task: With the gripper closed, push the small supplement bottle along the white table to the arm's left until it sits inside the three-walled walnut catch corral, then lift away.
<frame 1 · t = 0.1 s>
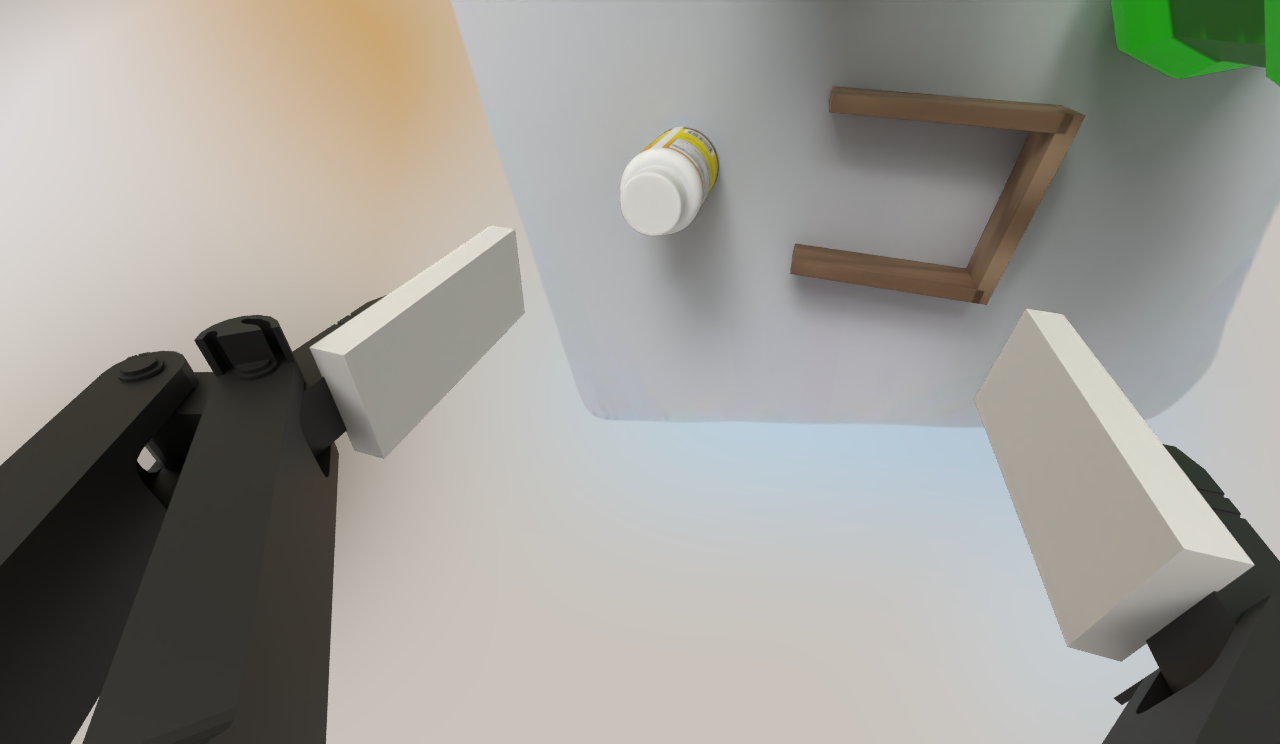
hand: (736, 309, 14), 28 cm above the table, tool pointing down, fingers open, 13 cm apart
catch corral: (904, 190, 36), on the table
supplement bottle: (685, 163, 39), on the table
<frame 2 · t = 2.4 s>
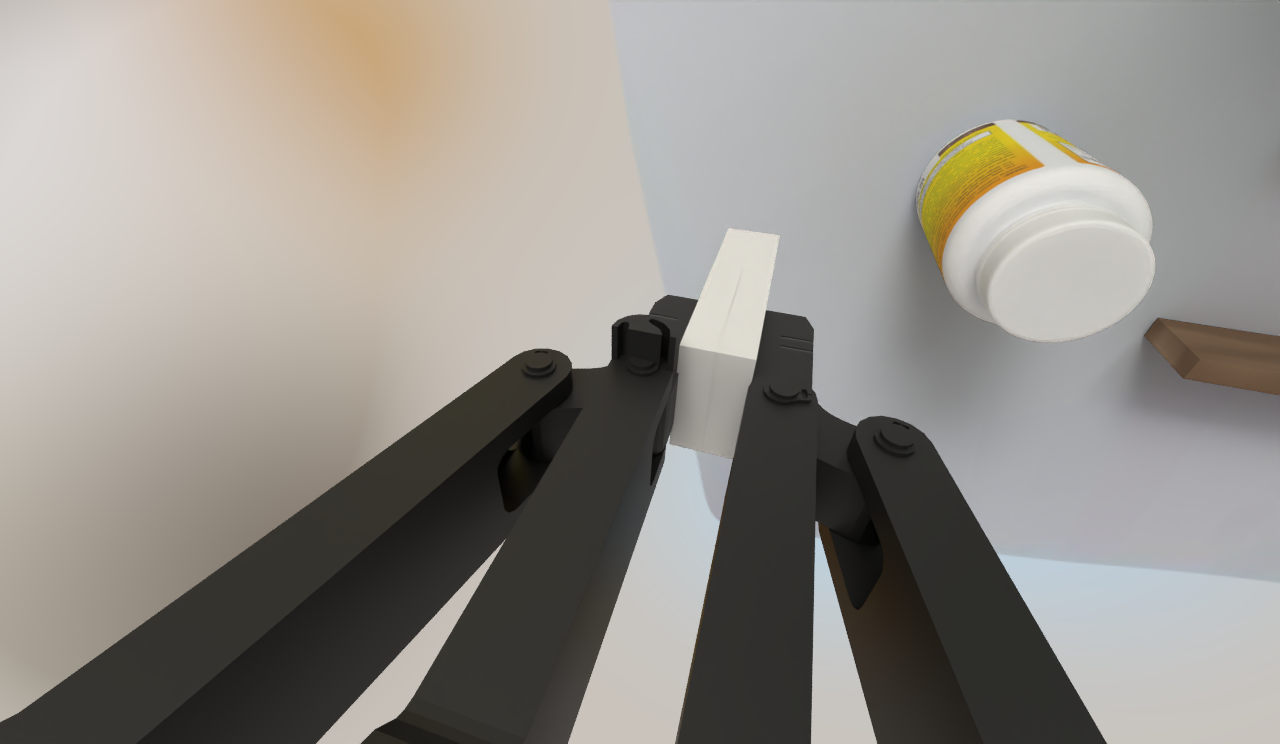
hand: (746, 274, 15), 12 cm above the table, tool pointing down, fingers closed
supplement bottle: (983, 183, 23), on the table
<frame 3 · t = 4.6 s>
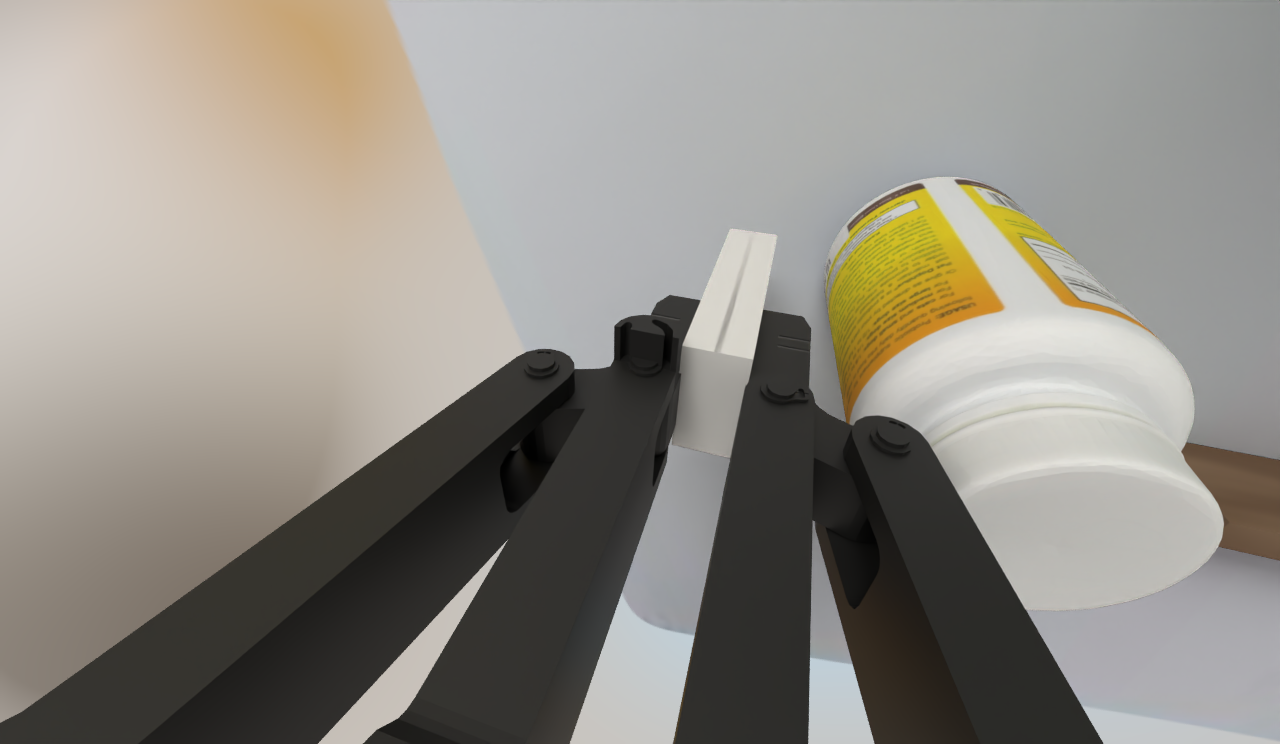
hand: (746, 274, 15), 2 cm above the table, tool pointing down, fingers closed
supplement bottle: (915, 258, 16), on the table, touching gripper
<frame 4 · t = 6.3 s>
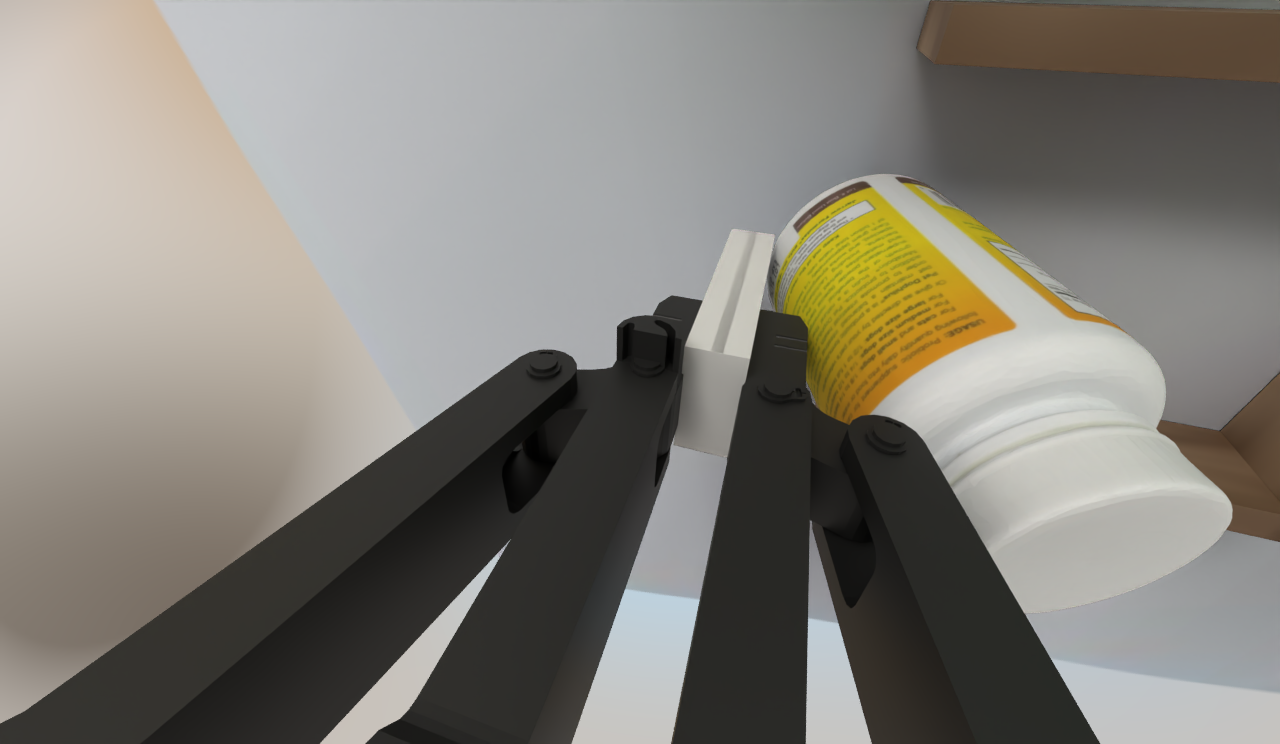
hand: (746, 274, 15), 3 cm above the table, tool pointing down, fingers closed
catch corral: (1095, 262, 15), on the table
supplement bottle: (848, 253, 16), point 1 cm above the table, touching gripper
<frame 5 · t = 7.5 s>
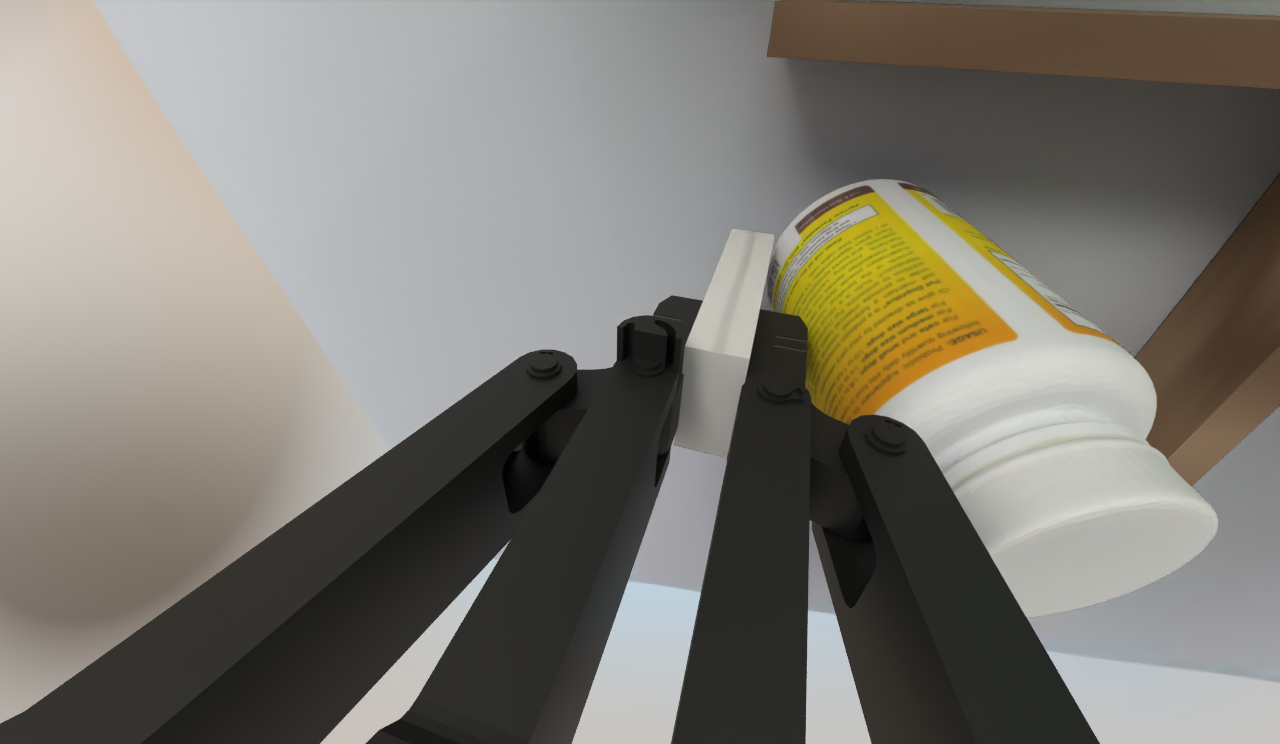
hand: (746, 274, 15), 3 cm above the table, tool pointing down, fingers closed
catch corral: (962, 248, 15), on the table
supplement bottle: (846, 256, 16), point 1 cm above the table, touching gripper
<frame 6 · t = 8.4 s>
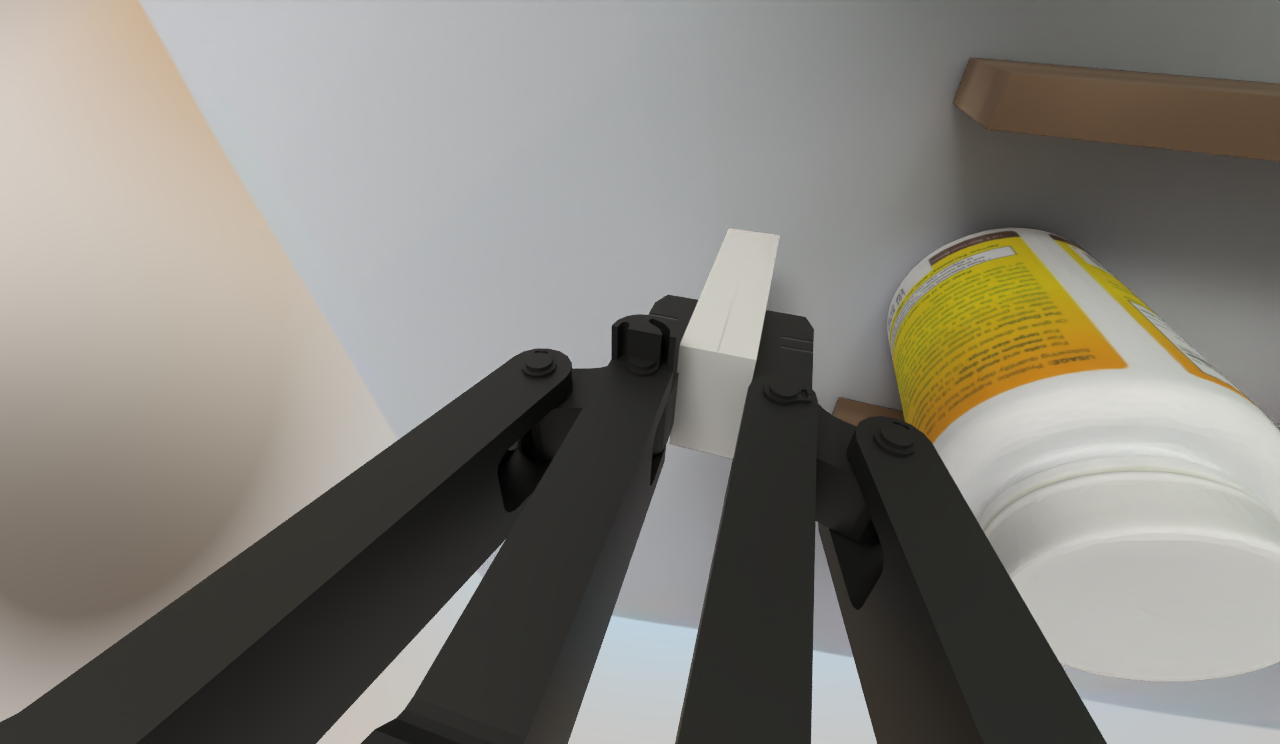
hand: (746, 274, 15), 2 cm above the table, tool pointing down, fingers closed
catch corral: (1117, 317, 15), on the table
supplement bottle: (981, 305, 16), on the table
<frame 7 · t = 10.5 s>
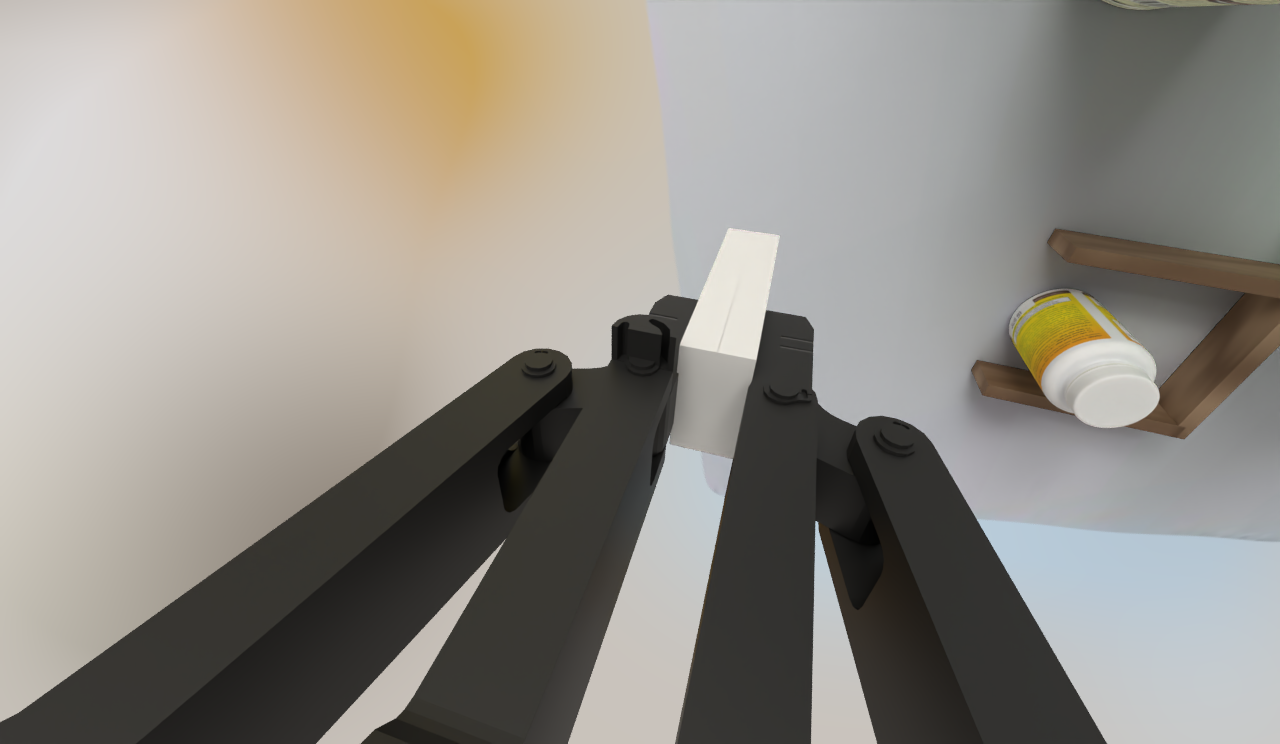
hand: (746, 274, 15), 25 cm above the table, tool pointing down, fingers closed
catch corral: (1106, 324, 36), on the table
supplement bottle: (1050, 318, 37), on the table
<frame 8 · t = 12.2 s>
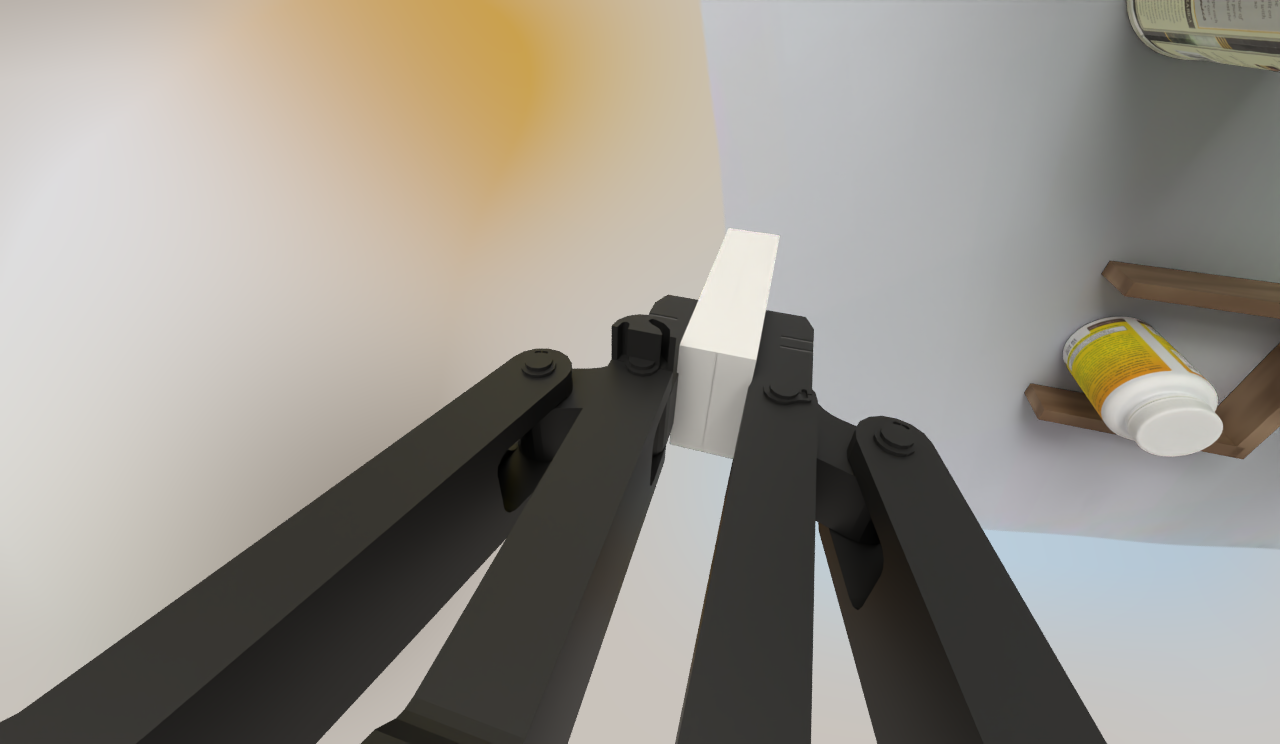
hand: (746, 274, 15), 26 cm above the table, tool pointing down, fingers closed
catch corral: (1161, 348, 37), on the table
supplement bottle: (1104, 343, 39), on the table
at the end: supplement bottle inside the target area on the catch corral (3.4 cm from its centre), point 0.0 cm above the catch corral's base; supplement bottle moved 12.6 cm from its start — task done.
